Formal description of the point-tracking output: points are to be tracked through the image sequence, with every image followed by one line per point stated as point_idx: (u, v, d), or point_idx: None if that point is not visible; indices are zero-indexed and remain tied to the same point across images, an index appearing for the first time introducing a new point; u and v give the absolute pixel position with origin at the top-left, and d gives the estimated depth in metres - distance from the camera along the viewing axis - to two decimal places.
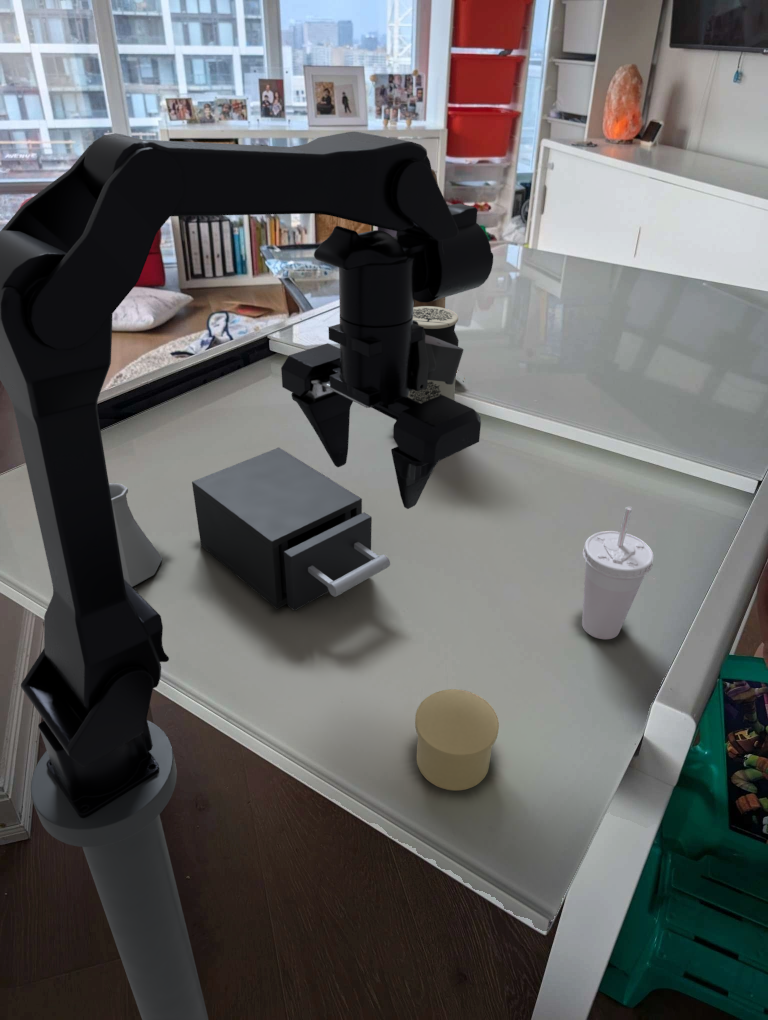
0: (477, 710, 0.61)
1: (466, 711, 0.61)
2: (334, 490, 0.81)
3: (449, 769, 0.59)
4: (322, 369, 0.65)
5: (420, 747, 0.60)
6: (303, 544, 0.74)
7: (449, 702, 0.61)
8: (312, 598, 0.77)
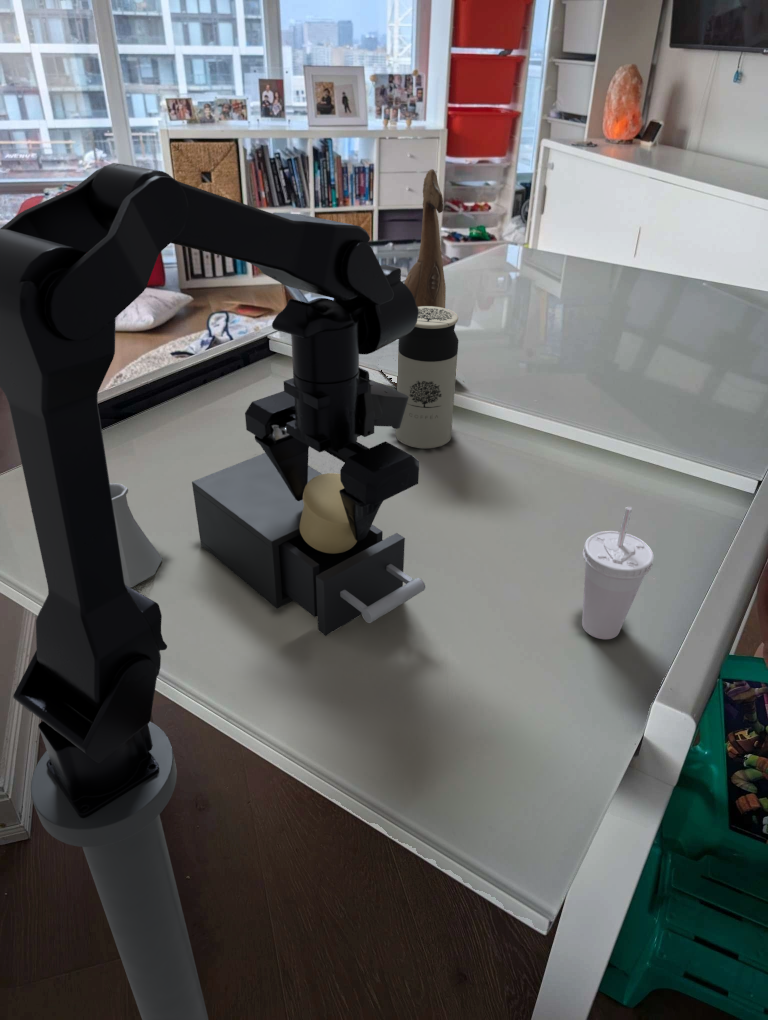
0: None
1: None
2: None
3: (324, 534, 0.71)
4: (281, 415, 0.72)
5: (304, 514, 0.72)
6: (336, 568, 0.71)
7: (334, 483, 0.73)
8: (343, 623, 0.74)
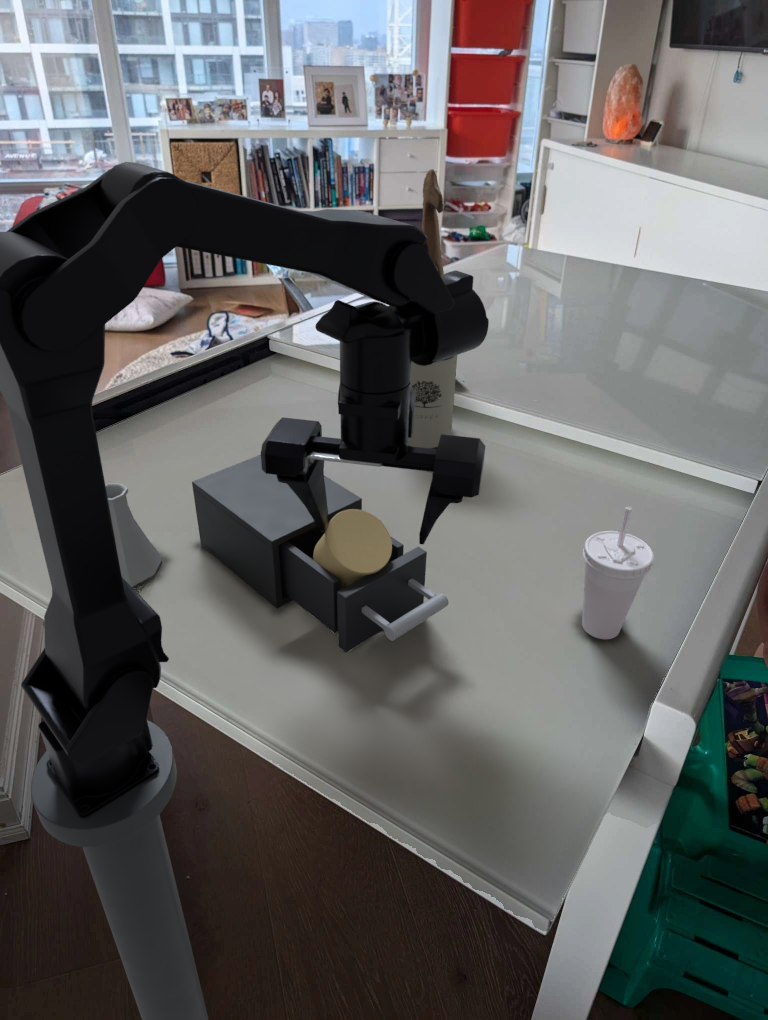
0: (375, 530, 0.72)
1: (367, 531, 0.71)
2: (334, 490, 0.81)
3: (348, 578, 0.71)
4: (308, 444, 0.65)
5: (324, 557, 0.71)
6: (357, 583, 0.69)
7: (353, 522, 0.71)
8: (364, 639, 0.72)
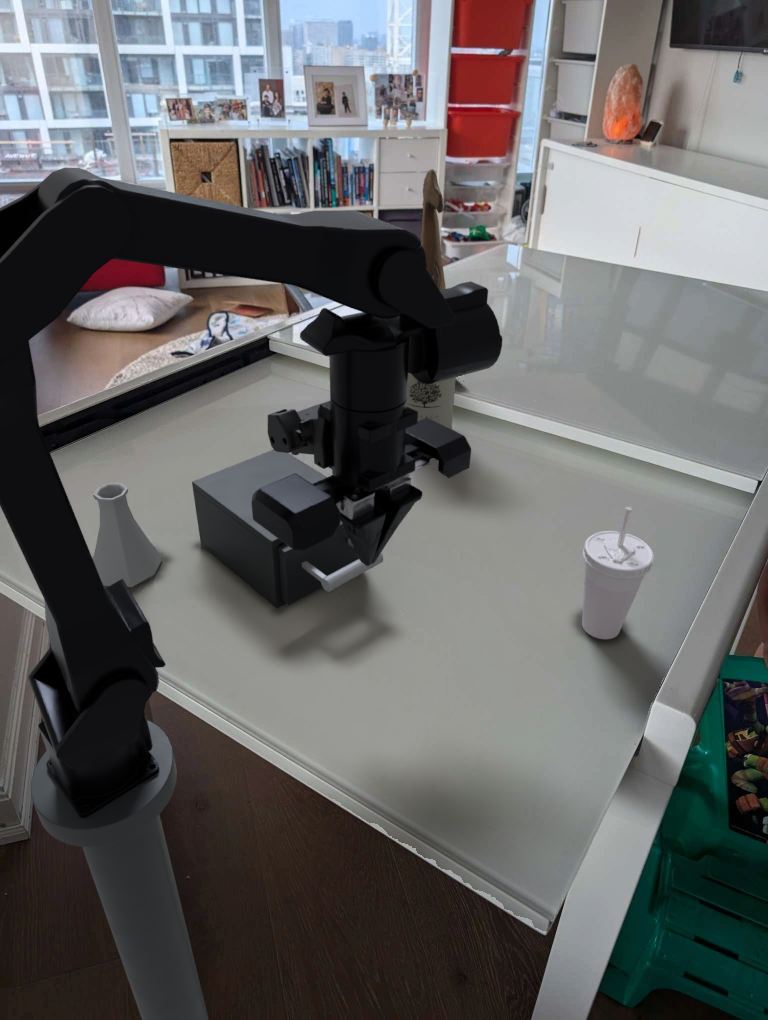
0: None
1: None
2: None
3: None
4: None
5: None
6: None
7: None
8: (306, 593, 0.78)
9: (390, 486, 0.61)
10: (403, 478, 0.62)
